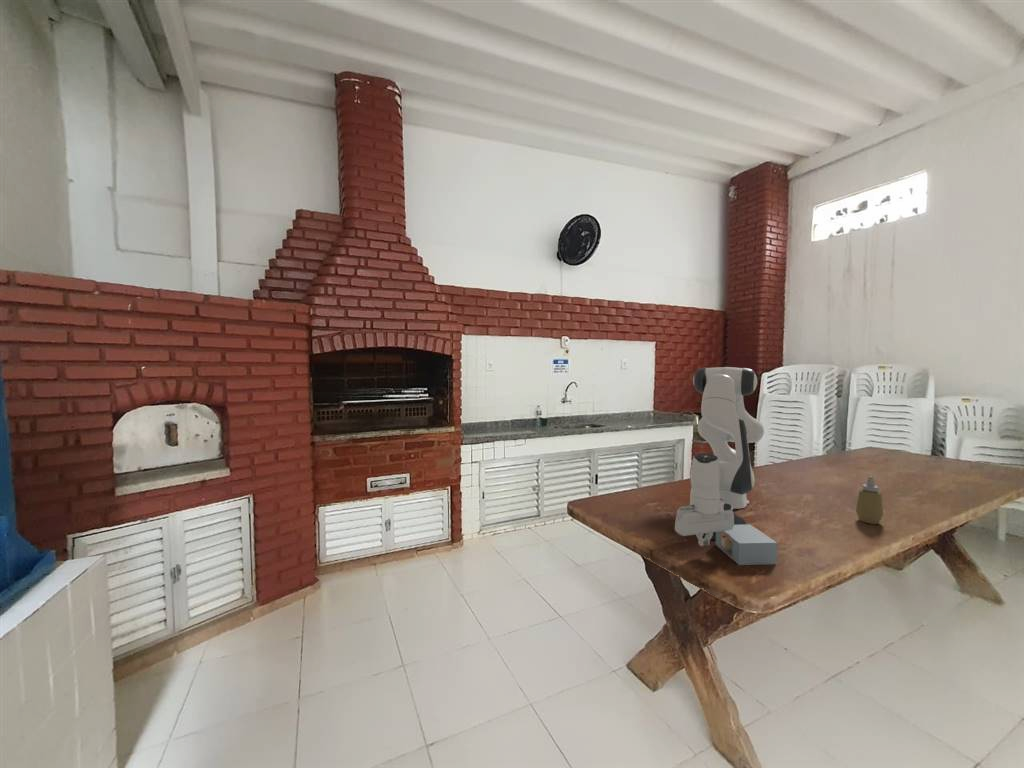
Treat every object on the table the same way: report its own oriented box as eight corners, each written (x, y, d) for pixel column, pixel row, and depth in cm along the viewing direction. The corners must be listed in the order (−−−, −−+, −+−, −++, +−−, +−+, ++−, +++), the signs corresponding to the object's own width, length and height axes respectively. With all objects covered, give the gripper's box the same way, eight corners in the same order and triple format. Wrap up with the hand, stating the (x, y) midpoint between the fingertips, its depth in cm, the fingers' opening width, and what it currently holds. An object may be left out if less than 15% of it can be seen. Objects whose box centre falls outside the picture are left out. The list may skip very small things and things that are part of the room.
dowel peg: (721, 547, 136) (721, 535, 136) (756, 546, 136) (756, 534, 136) (728, 552, 132) (728, 540, 132) (764, 552, 132) (764, 540, 132)
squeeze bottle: (850, 519, 162) (852, 475, 161) (862, 516, 165) (864, 472, 164) (875, 527, 154) (877, 480, 153) (887, 523, 157) (889, 478, 156)
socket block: (715, 544, 141) (716, 525, 141) (749, 543, 142) (750, 524, 141) (738, 564, 127) (739, 543, 127) (776, 564, 128) (777, 542, 127)
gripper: (683, 510, 127) (682, 553, 128) (737, 504, 132) (736, 545, 133) (671, 503, 133) (670, 544, 134) (723, 498, 138) (722, 537, 139)
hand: (703, 545), depth 134 cm, fingers closed
